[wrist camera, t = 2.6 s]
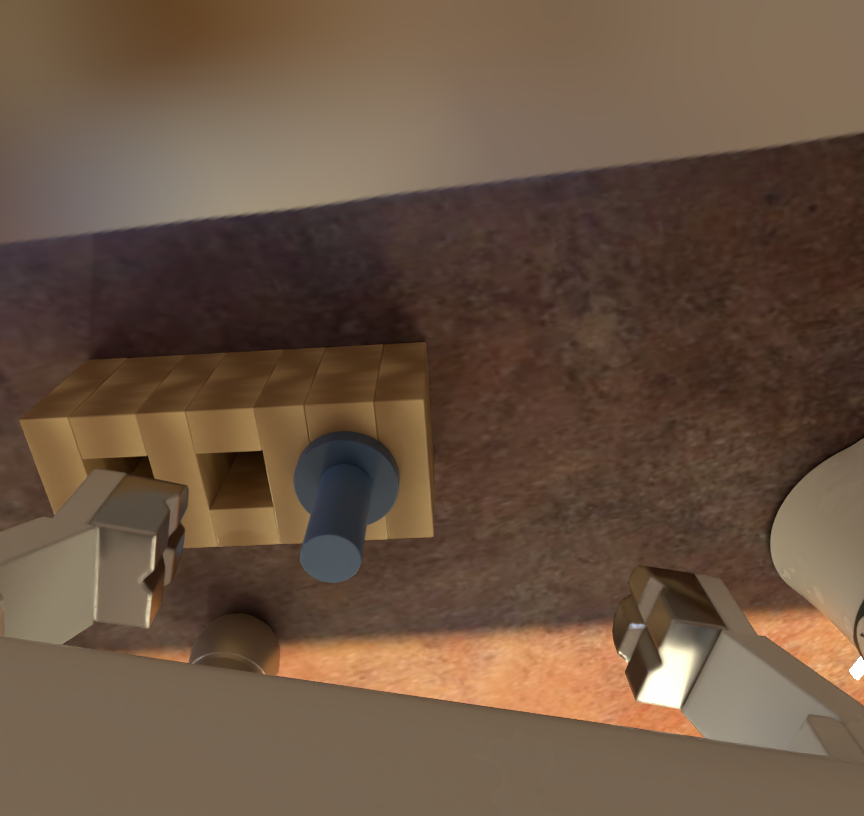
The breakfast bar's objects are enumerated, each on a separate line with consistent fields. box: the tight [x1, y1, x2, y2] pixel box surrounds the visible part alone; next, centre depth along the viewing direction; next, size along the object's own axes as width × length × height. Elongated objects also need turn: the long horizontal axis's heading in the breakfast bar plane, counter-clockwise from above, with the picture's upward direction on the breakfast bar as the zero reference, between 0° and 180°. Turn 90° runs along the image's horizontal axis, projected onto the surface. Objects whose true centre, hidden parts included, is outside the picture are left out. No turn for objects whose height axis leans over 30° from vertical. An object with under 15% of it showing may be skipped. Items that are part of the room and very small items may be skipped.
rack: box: [19, 342, 434, 548], centre depth 41 cm, size 21×9×8 cm, turn 93°
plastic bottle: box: [189, 613, 280, 676], centre depth 45 cm, size 6×7×20 cm
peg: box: [293, 431, 400, 583], centre depth 37 cm, size 6×6×13 cm
